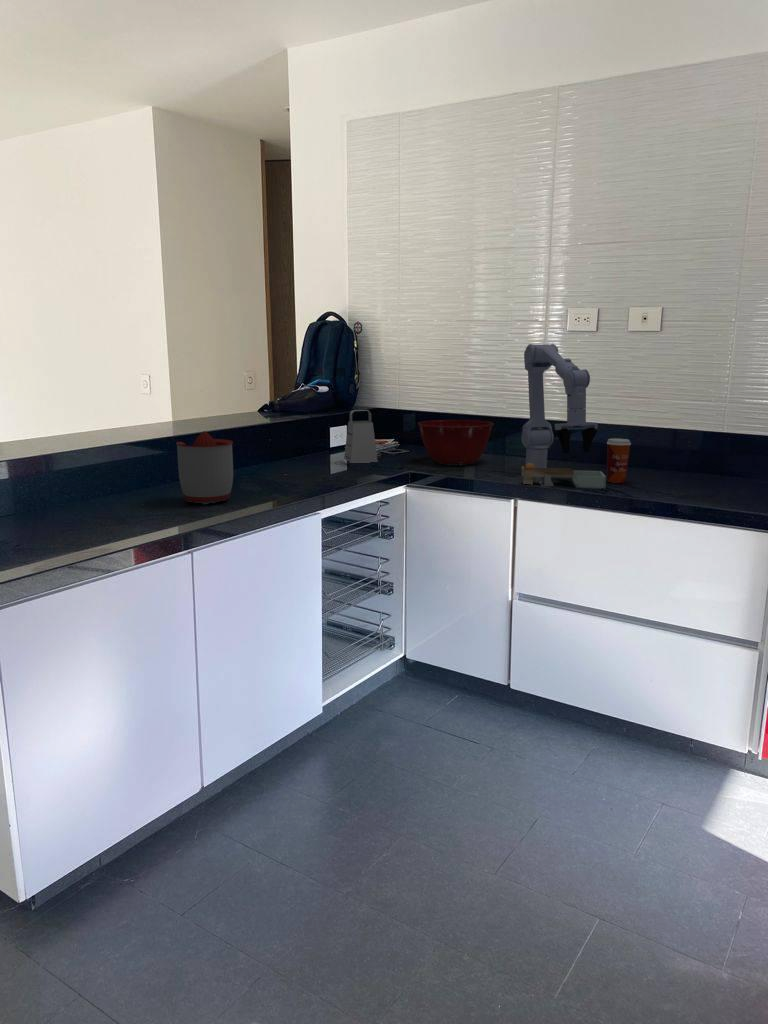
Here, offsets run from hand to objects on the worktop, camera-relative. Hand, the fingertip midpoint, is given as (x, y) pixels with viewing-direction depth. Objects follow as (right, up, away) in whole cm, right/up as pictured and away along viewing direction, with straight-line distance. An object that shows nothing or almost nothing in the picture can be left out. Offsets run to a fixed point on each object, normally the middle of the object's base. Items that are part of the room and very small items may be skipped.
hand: (576, 452), depth 234 cm
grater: (-69, -1, +47) cm, 83 cm away
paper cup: (+16, -9, +10) cm, 21 cm away
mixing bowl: (-34, 0, +49) cm, 60 cm away
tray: (+5, -10, +5) cm, 12 cm away
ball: (-13, -6, +6) cm, 16 cm away
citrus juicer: (-111, -16, -21) cm, 114 cm away
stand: (-8, -10, +7) cm, 14 cm away
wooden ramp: (-7, -9, +10) cm, 15 cm away
